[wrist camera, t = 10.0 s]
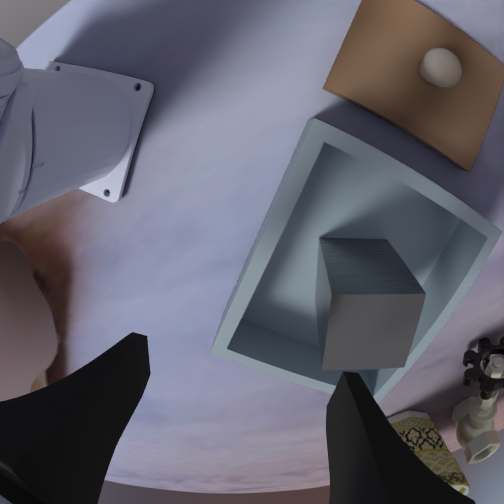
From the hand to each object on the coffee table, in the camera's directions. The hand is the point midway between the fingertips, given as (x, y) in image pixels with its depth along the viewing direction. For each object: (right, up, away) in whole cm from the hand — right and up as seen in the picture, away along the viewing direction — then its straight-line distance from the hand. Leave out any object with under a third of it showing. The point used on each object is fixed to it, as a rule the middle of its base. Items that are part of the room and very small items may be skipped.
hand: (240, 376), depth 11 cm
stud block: (+10, +15, +3) cm, 18 cm away
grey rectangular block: (+6, +3, +8) cm, 11 cm away
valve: (+22, -8, +12) cm, 26 cm away
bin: (+6, +4, +9) cm, 11 cm away
